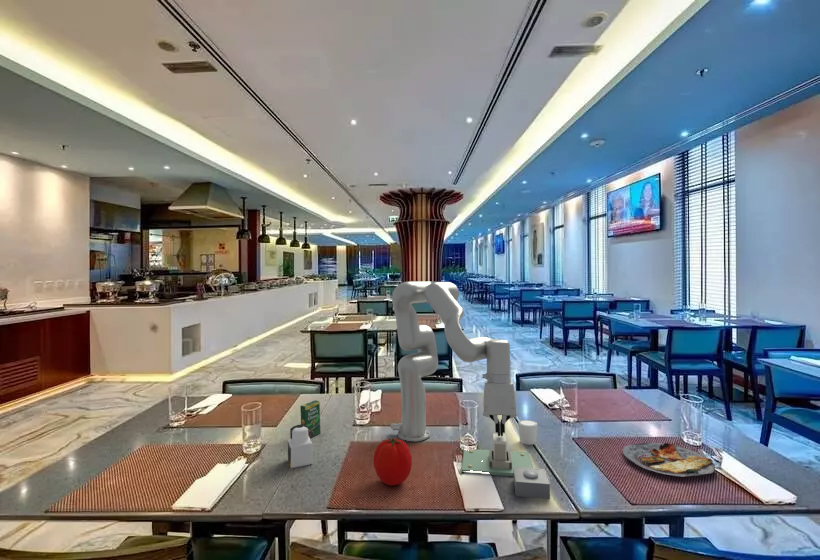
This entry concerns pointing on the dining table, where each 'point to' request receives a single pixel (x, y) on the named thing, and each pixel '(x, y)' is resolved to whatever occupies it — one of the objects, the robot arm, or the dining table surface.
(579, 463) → the dining table surface
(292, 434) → the medicine bottle
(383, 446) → the tomato
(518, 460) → the board
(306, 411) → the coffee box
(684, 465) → the food plate
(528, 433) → the gray cup
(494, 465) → the socket
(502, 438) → the plug
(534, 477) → the grey push button box
